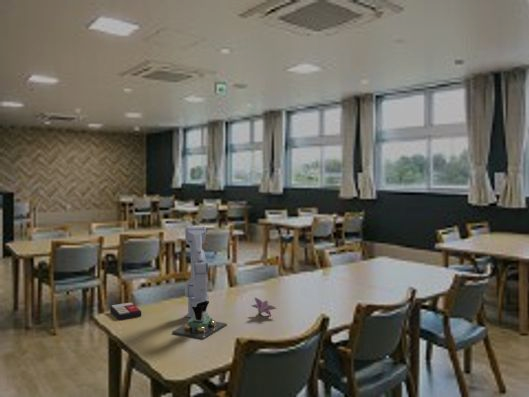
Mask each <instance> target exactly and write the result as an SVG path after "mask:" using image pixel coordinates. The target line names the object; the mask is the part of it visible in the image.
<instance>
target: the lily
mask: <svg viewBox="0 0 529 397" xmlns="http://www.w3.org/2000/svg"><path fill="white" fill-rule="evenodd" d="M253 299H254V300H255V303H256V304H252V305H251V307H252V308H256V309H257V314H259V318H261V317H262V314H264V313H265V314H267V315H268V316H272V313H271V311H273V310H277V309H278V308H277V307H276V306H273V305H270V304H269V301H268V300H264V301H262V300H261V299H259V298H257V297H255V296H254V298H253Z"/></svg>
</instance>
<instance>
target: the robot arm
mask: <svg viewBox="0 0 529 397" xmlns="http://www.w3.org/2000/svg"><path fill="white" fill-rule="evenodd" d="M184 229H185V230H184V232H185V233H184V235H185V236H184V237H185V244H186V245H189V249H190V278H189V279H187V280H186V282H185V288H184V295H185V297H186V299H187V314H185V315H184V317H185V318H186V317H187V318H190V319H191V318H192V317H193V313H195V317H196V320H201V317H202V311H204V312H206V315H208V314H209V312H207V308H208V306H209V303H210V301H209V294H207V293H208V292H207V291H208V288H207V287H208V284H207V283H208V281H207V280H208V273H209V264H208V263H209V262H208V261H207V258H206V253H205V251H204V249H203V244H204V243H205V242H206V238H207V228H206V227H205V226H186V227H185V228H184Z"/></svg>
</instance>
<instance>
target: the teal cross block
mask: <svg viewBox="0 0 529 397" xmlns="http://www.w3.org/2000/svg"><path fill="white" fill-rule="evenodd" d="M206 312H207V311H206ZM206 312H204V311H202V317H201V320H196V317H195V313H193V317H192V318H191V317H190V319H189V320H188V321H187V323H188V322H189V324H190V326H194V327H200V326H201V325H206V326H207V324H208V323H209V322H210V321H211V320H212V319H213V318H212V317H210V315H208V314H206Z"/></svg>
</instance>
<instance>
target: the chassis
mask: <svg viewBox="0 0 529 397" xmlns="http://www.w3.org/2000/svg"><path fill="white" fill-rule="evenodd" d="M227 325H228V324H227V322H221V321H216V320H215V319H213V318H212V320H211V321H210V322H209V323H208V324H207V326H206V325H201V326H200V327H194V326H190V324H189V322H188V321H187V323H185V324H184V325H182V326H180V327H179V328H176V329H174V330H172V332H171V334H172V335H177V336H184V337H187V338H193V339H198V340H205V339H207V338H209V337H211V336H212V335H214V334H216V332H218V331H220V330H222V329H223V328H225V327H227Z"/></svg>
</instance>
